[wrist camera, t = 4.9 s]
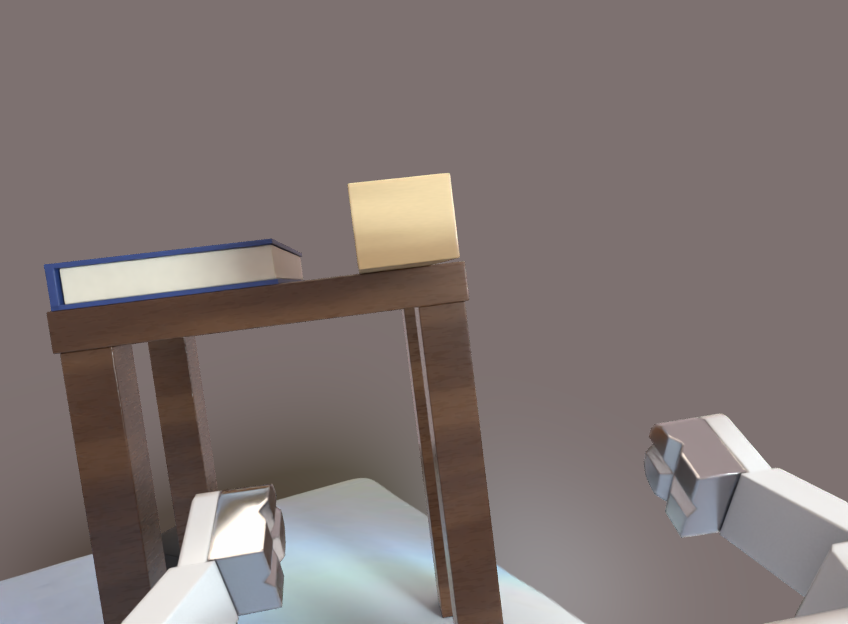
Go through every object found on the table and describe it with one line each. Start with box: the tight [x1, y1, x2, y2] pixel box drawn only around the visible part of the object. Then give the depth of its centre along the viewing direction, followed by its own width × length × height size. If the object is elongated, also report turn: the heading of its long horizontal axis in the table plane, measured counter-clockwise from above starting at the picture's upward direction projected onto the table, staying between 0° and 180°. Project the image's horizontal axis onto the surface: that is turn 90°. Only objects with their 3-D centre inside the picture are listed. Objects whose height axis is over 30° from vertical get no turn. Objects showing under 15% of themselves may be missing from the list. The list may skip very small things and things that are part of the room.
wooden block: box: [348, 173, 460, 274], centre depth 32 cm, size 23×4×3 cm, turn 6°
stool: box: [47, 261, 503, 624], centre depth 36 cm, size 14×20×25 cm
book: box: [44, 239, 305, 311], centre depth 35 cm, size 14×10×2 cm
